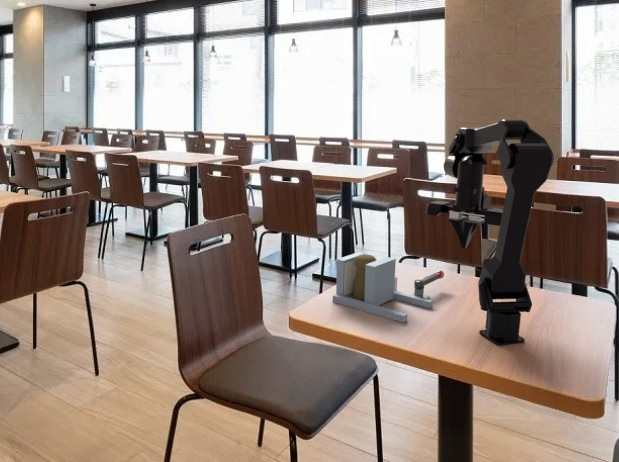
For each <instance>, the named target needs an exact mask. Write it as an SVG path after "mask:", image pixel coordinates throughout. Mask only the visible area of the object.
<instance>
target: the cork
mask: <svg viewBox="0 0 619 462" xmlns="http://www.w3.org/2000/svg"><path fill="white" fill-rule="evenodd" d="M374 261H377V258H376V257H375V256H374V255H372V254H365V255H359V256H357V257H356V259H355V266H356V268H357V271H356V277H355V283H354V289H353V295H352V297H351V298H353V299H356V300H360V301H363V302H364V295H365V267H366V264H369V263H371V262H374Z"/></svg>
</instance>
